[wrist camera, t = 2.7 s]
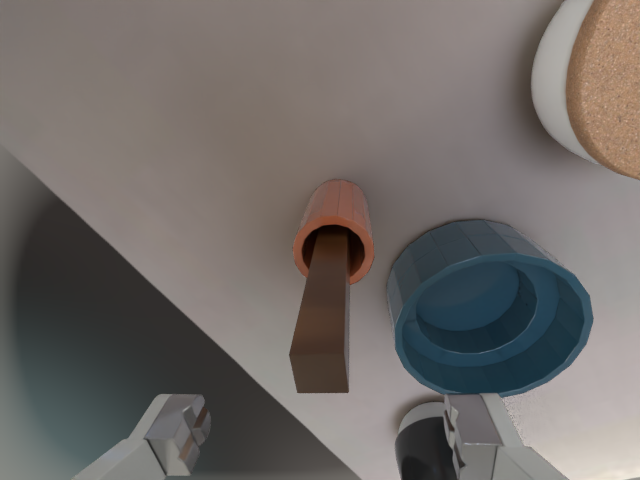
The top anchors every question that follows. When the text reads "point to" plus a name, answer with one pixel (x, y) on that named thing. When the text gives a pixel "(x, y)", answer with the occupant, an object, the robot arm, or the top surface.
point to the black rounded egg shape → (424, 445)
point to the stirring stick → (324, 317)
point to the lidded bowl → (592, 82)
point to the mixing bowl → (485, 310)
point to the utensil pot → (342, 209)
